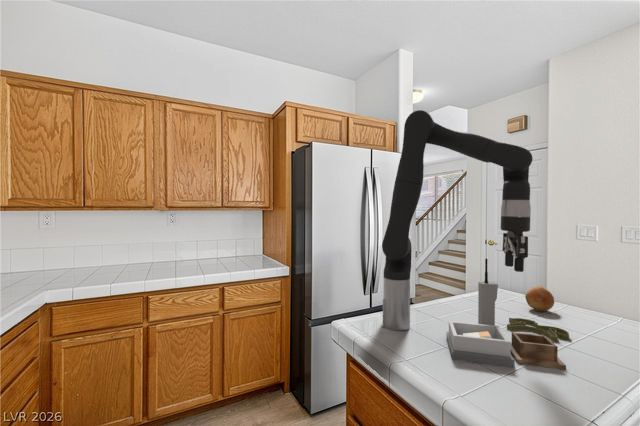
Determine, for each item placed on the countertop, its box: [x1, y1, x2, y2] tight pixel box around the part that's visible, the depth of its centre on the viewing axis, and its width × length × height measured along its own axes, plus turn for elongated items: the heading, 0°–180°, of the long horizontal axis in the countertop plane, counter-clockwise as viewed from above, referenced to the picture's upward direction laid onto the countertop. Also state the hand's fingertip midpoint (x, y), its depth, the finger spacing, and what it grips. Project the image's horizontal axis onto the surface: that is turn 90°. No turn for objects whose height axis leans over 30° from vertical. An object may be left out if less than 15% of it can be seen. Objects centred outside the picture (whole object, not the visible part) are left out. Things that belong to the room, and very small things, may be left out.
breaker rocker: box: [463, 331, 492, 339], centre depth 88 cm, size 7×4×2 cm, turn 73°
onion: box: [524, 285, 555, 313], centre depth 125 cm, size 10×10×10 cm
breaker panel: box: [446, 320, 516, 368], centre depth 88 cm, size 15×15×6 cm
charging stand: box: [511, 331, 567, 370], centre depth 85 cm, size 11×11×5 cm
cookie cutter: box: [506, 317, 570, 343], centre depth 104 cm, size 18×12×2 cm, turn 41°
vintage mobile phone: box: [477, 258, 499, 326], centre depth 102 cm, size 4×5×25 cm
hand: (513, 268), depth 91 cm, fingers open, 8 cm apart
